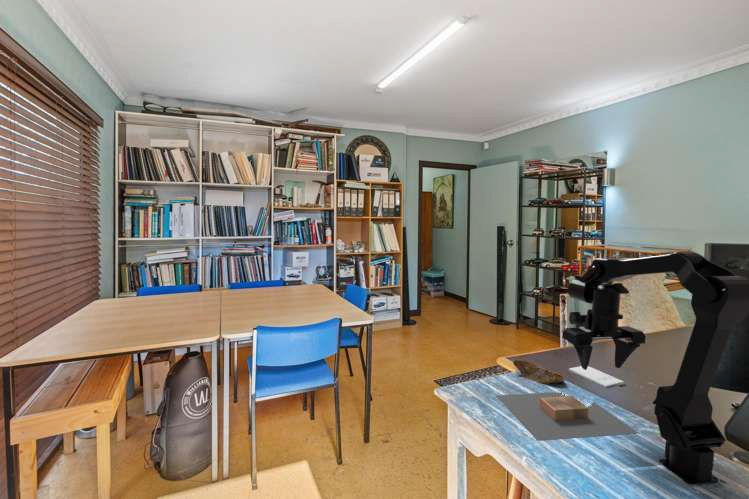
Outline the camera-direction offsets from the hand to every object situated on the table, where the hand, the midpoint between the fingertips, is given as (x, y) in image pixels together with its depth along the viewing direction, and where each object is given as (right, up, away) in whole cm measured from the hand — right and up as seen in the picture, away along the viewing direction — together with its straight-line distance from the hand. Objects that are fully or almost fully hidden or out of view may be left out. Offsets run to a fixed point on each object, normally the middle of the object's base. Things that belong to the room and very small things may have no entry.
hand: (600, 368), depth 90 cm
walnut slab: (-5, -10, 0) cm, 11 cm away
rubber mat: (-10, -11, 0) cm, 16 cm away
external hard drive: (+12, -11, +21) cm, 26 cm away
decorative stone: (-6, -10, +20) cm, 24 cm away
